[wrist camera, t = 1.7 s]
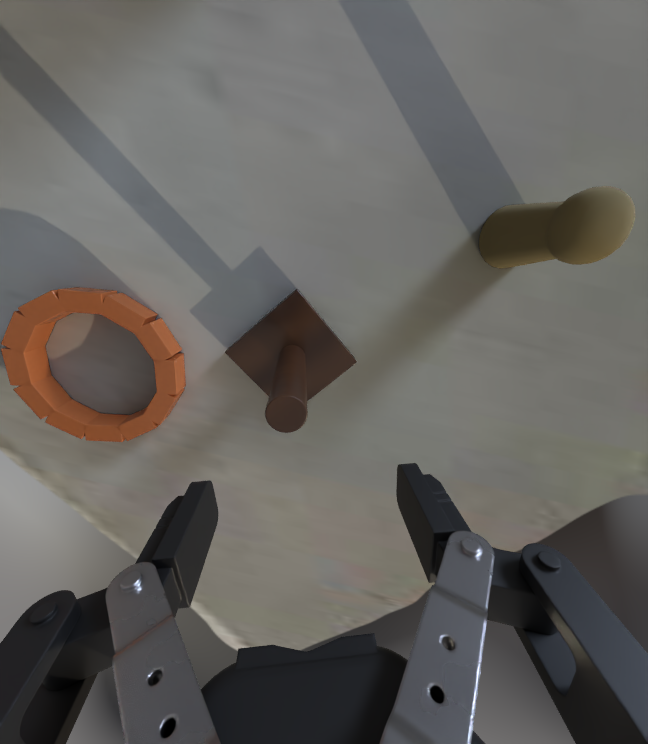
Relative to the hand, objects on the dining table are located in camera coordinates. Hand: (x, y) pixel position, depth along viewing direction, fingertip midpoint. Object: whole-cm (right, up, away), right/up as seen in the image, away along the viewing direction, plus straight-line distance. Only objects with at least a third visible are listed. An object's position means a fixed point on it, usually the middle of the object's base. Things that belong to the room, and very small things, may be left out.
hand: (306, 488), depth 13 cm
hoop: (-23, +6, +20) cm, 31 cm away
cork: (+20, +19, +18) cm, 33 cm away
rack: (-3, +7, +21) cm, 22 cm away
